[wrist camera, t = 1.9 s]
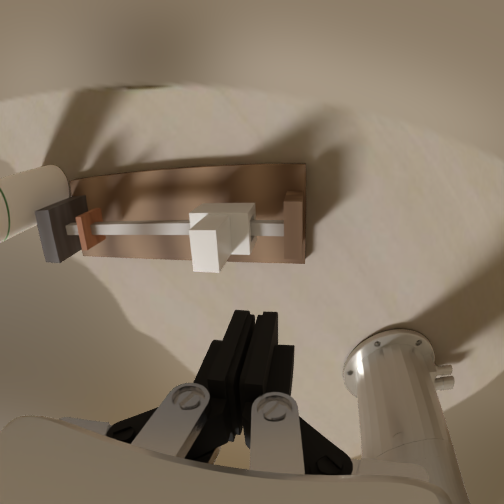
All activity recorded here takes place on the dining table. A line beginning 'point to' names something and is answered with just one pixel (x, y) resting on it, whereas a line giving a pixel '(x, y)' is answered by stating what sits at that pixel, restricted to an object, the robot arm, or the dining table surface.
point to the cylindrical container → (29, 197)
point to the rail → (176, 212)
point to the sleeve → (220, 234)
